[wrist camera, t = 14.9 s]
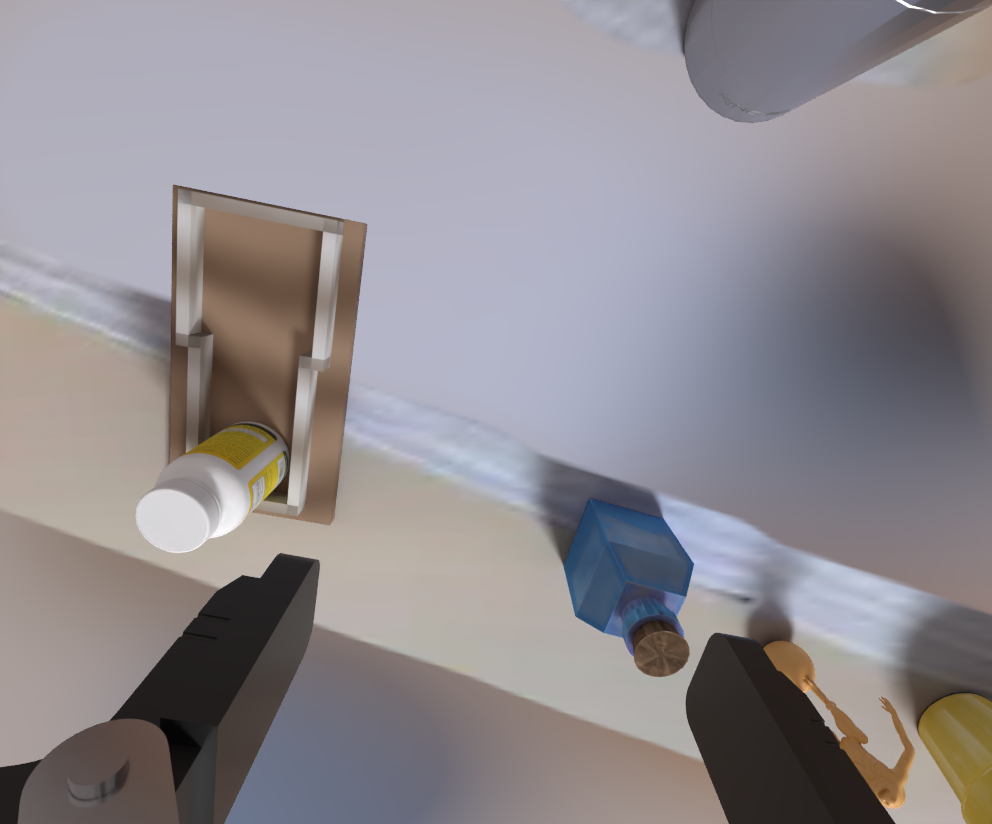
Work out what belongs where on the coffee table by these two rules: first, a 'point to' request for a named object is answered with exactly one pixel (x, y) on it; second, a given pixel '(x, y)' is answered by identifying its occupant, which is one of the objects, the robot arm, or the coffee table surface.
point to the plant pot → (963, 750)
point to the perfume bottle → (631, 583)
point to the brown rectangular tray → (265, 335)
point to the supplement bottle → (213, 487)
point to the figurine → (849, 727)
